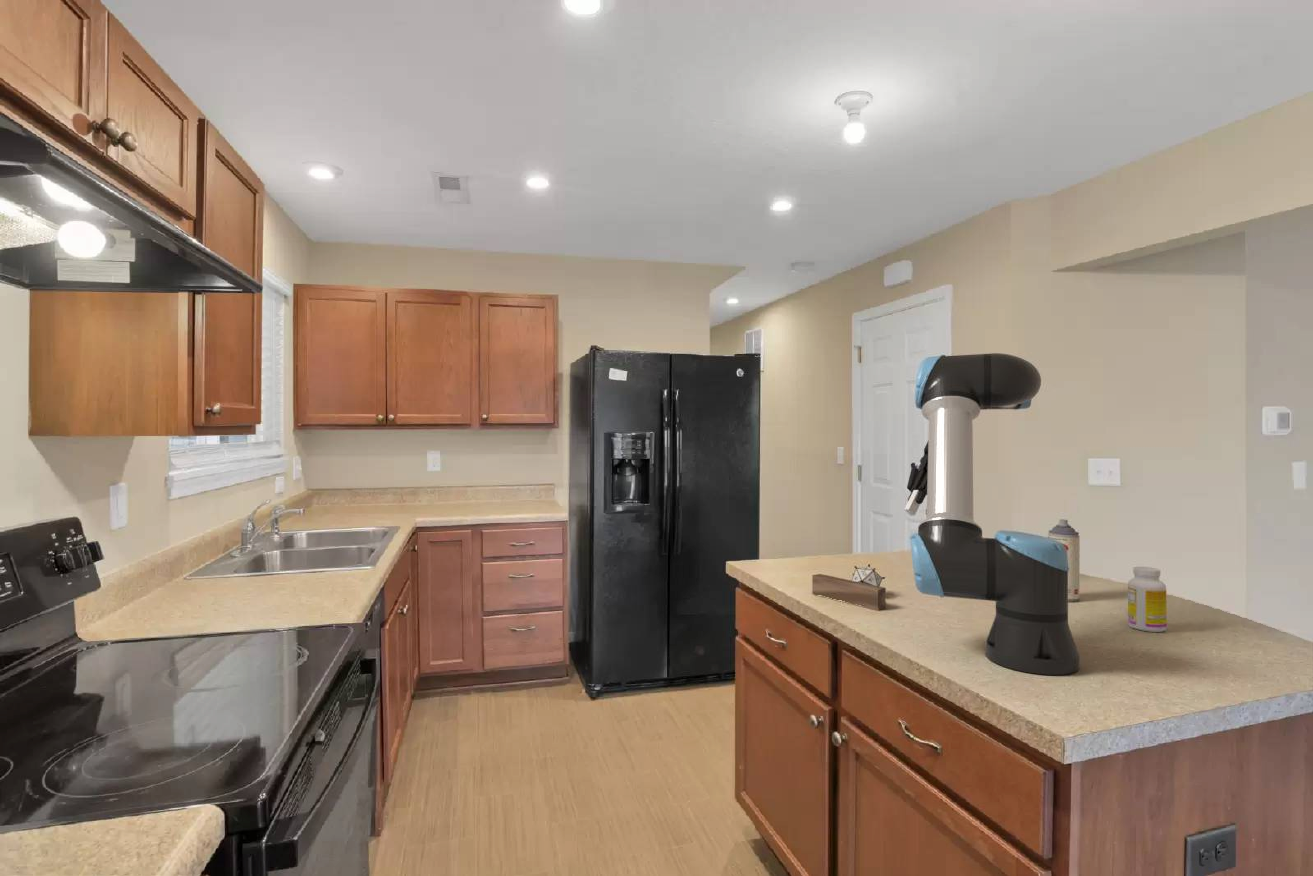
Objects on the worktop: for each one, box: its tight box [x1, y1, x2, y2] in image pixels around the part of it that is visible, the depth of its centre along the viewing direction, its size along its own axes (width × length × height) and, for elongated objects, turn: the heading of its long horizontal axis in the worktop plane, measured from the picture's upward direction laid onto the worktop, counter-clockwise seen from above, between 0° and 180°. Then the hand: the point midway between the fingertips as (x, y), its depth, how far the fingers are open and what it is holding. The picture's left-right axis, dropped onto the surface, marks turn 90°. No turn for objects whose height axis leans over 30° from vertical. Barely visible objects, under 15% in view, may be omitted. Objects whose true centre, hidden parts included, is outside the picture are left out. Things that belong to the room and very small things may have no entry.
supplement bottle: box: [1127, 566, 1168, 633], centre depth 143 cm, size 7×7×13 cm
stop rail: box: [811, 573, 887, 611], centre depth 167 cm, size 3×20×5 cm, turn 36°
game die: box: [851, 563, 886, 587], centre depth 172 cm, size 9×8×10 cm
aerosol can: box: [1047, 518, 1081, 603], centre depth 168 cm, size 7×7×20 cm
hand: (909, 512), depth 178 cm, fingers closed
